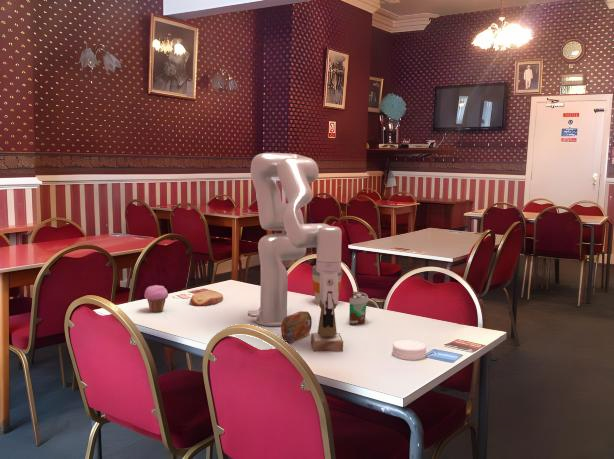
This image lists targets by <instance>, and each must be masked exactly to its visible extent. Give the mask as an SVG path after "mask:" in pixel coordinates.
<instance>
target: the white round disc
mask: <svg viewBox="0 0 614 459" xmlns="http://www.w3.org/2000/svg"><path fill="white" fill-rule="evenodd" d="M392 355H393V356H394V357H395V358H397V359H400V360H405V361H419V360H420V361H421V360H423V359H425V358H426V357H427V346H426V344H425V343H423V342H421V341H417V340H413V339H399V340H397V341H394V342H393V343H392Z"/></svg>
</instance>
